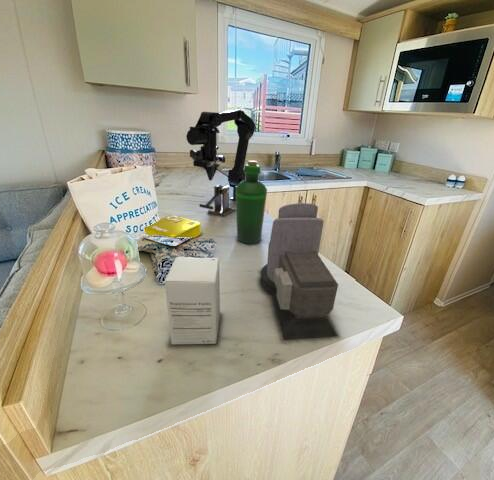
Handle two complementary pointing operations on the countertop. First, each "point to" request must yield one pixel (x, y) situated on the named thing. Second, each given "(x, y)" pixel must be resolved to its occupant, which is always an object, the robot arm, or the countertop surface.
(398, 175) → the countertop surface
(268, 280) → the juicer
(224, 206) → the tap bracket
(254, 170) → the bottle
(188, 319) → the white product box
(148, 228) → the element tile
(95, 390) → the countertop surface
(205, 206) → the tap lever
